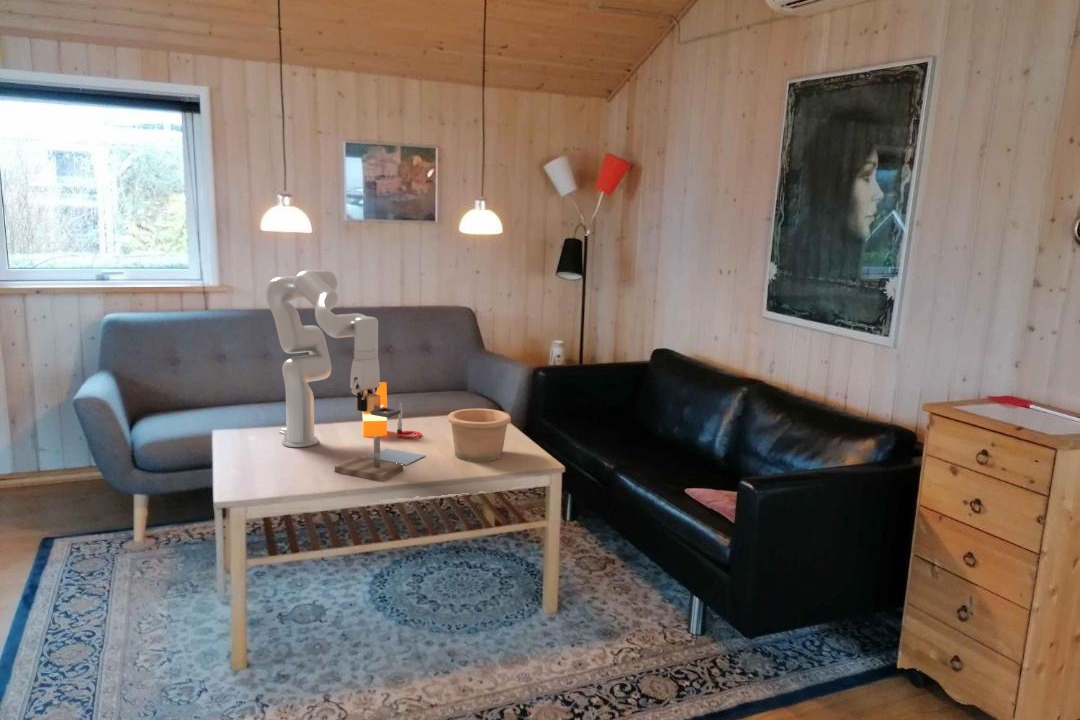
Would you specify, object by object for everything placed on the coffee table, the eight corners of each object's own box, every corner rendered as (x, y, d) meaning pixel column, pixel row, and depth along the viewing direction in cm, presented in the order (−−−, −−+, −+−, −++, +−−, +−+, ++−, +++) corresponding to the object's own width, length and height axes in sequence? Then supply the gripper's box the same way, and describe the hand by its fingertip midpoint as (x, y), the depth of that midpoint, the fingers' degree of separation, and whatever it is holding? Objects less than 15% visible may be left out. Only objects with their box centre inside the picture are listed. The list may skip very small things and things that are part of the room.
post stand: (334, 472, 242) (334, 435, 239) (357, 462, 252) (357, 427, 250) (381, 481, 235) (381, 444, 233) (402, 470, 246) (403, 435, 243)
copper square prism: (353, 411, 245) (353, 395, 244) (366, 407, 251) (366, 391, 250) (388, 417, 239) (388, 401, 238) (400, 413, 245) (400, 397, 244)
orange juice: (387, 435, 285) (387, 384, 282) (363, 436, 283) (363, 384, 279) (385, 430, 292) (386, 380, 289) (362, 431, 290) (362, 380, 287)
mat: (366, 458, 257) (366, 457, 257) (386, 449, 268) (386, 448, 268) (406, 465, 251) (406, 464, 251) (425, 456, 262) (425, 455, 262)
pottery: (450, 465, 253) (451, 424, 251) (445, 446, 274) (445, 408, 272) (514, 463, 258) (515, 423, 255) (503, 445, 279) (504, 407, 276)
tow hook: (422, 434, 291) (398, 432, 290) (424, 402, 288) (400, 400, 288) (420, 440, 282) (395, 438, 282) (422, 407, 280) (397, 405, 280)
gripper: (372, 350, 253) (372, 403, 256) (340, 356, 238) (340, 413, 241) (390, 352, 250) (390, 406, 253) (359, 359, 235) (358, 416, 238)
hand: (365, 409), depth 247 cm, fingers closed on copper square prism, 3 cm apart
